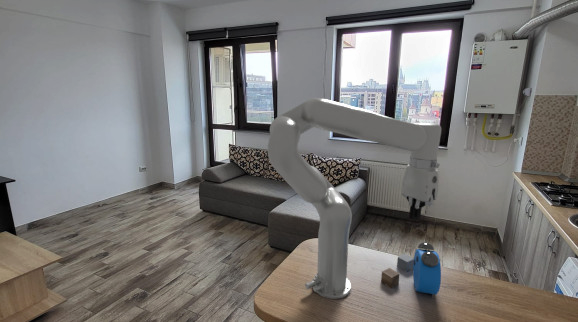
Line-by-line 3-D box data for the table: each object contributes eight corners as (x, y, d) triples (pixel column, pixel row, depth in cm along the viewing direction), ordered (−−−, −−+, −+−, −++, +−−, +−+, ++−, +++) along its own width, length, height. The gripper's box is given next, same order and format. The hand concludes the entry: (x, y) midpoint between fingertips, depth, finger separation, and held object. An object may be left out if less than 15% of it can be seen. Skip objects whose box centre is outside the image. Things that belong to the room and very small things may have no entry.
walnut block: (390, 288, 96) (391, 277, 95) (381, 281, 100) (381, 271, 99) (398, 284, 98) (399, 273, 97) (388, 277, 102) (389, 267, 101)
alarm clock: (438, 304, 89) (444, 260, 85) (416, 300, 90) (421, 257, 87) (430, 278, 101) (435, 239, 98) (410, 275, 103) (415, 236, 99)
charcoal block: (406, 271, 105) (407, 262, 104) (396, 266, 108) (397, 256, 107) (413, 268, 107) (414, 258, 106) (404, 263, 110) (404, 253, 109)
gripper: (453, 167, 85) (443, 225, 90) (410, 157, 98) (403, 208, 102) (437, 170, 82) (427, 230, 86) (394, 159, 94) (388, 211, 99)
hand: (414, 218), depth 94 cm, fingers closed
